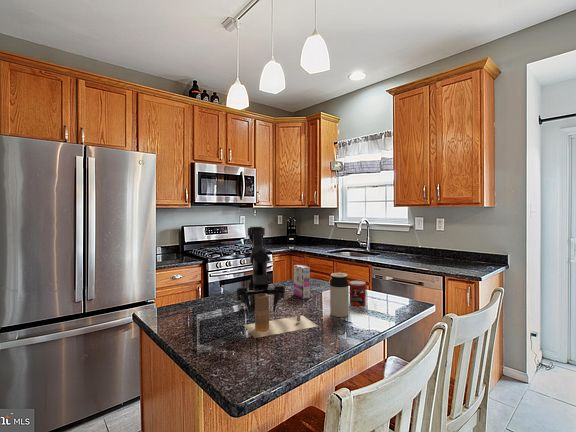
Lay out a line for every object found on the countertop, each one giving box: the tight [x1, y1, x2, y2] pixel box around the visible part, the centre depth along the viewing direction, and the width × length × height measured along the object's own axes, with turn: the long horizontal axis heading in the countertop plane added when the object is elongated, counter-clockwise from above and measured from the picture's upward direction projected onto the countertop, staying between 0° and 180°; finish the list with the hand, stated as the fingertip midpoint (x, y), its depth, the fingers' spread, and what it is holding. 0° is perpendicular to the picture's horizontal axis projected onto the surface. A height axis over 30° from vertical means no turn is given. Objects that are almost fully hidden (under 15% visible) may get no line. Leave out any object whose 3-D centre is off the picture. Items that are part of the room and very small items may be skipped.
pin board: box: [243, 313, 319, 339], centre depth 124 cm, size 26×14×5 cm, turn 114°
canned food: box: [349, 280, 367, 308], centre depth 155 cm, size 8×8×11 cm
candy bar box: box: [293, 264, 311, 300], centre depth 171 cm, size 11×5×16 cm, turn 25°
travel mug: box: [329, 272, 350, 318], centre depth 140 cm, size 8×8×18 cm
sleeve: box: [254, 293, 270, 332], centre depth 120 cm, size 5×5×13 cm
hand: (262, 312), depth 119 cm, fingers open, 9 cm apart
